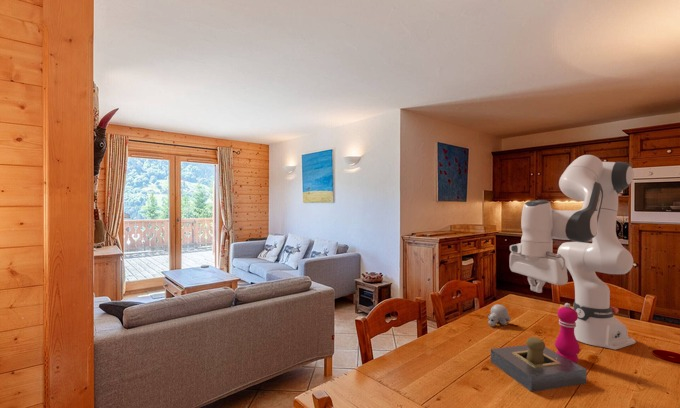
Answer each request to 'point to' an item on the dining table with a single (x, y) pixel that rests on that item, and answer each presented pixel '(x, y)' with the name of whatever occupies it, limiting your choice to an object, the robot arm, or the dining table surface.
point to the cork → (535, 350)
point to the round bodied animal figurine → (498, 315)
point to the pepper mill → (567, 333)
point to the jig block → (538, 368)
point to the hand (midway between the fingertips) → (536, 291)
